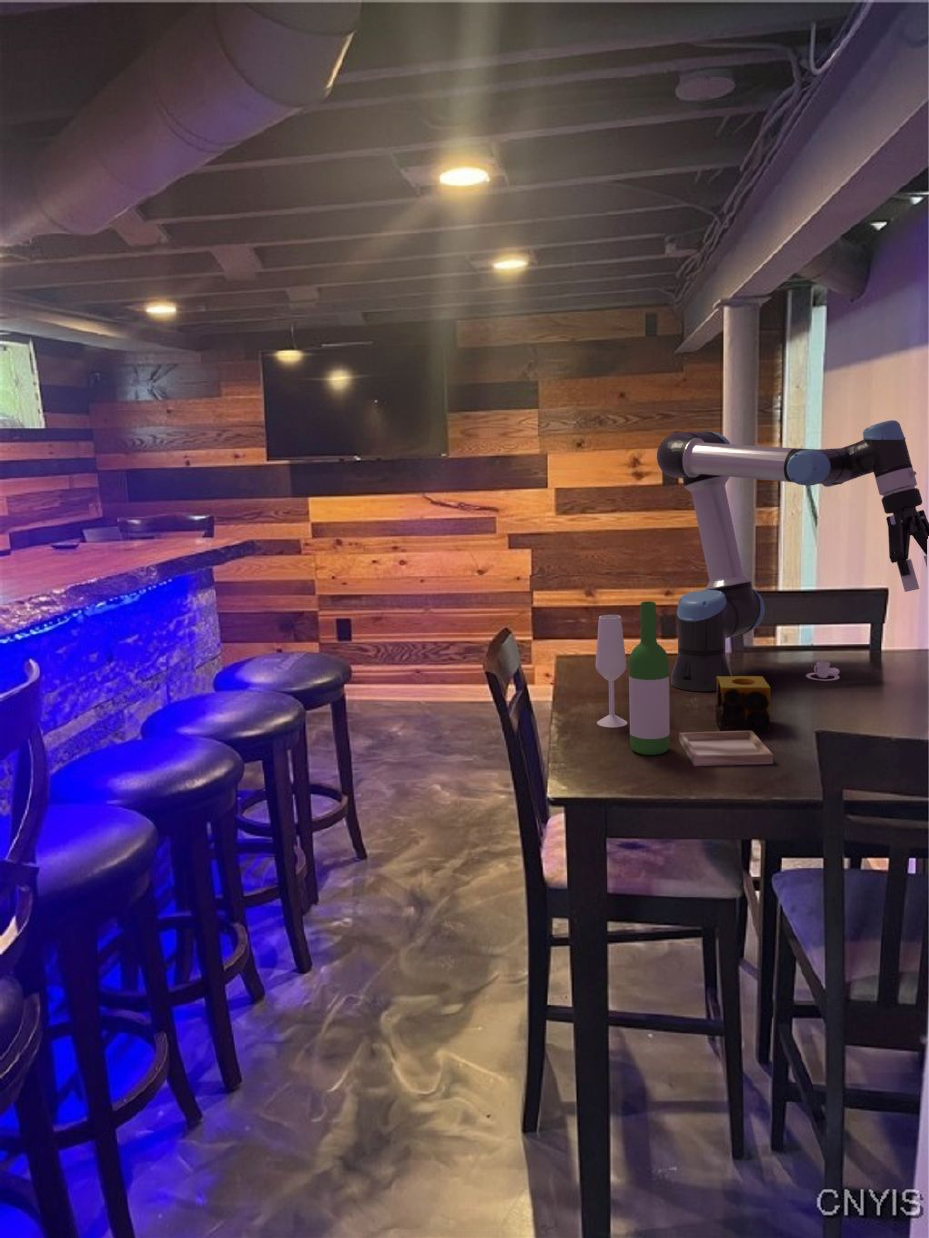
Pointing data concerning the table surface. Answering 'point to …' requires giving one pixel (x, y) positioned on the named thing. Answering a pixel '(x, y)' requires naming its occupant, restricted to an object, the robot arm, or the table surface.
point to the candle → (743, 704)
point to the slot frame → (725, 748)
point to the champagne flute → (610, 661)
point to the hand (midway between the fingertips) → (925, 586)
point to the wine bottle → (649, 689)
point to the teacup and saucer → (824, 671)
